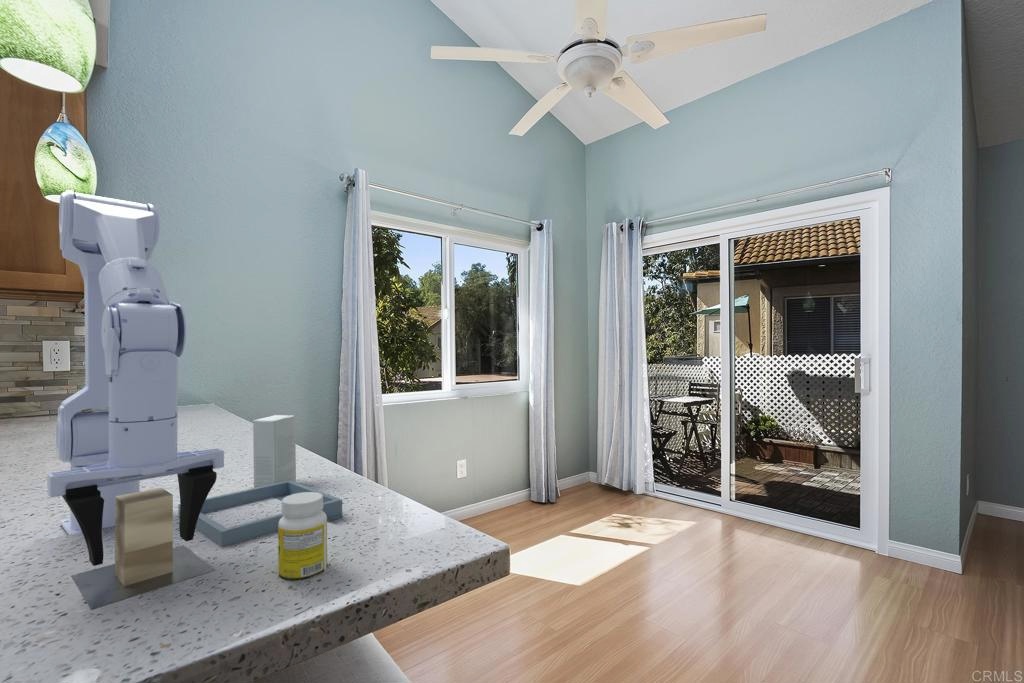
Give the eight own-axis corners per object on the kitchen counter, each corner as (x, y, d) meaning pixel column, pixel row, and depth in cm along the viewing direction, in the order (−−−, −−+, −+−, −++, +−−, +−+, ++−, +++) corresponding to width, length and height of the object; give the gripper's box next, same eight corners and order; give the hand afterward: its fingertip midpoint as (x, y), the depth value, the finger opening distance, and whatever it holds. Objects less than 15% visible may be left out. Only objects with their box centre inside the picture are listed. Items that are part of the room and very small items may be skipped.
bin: (178, 522, 68) (178, 504, 68) (290, 495, 79) (290, 480, 79) (221, 553, 57) (221, 531, 57) (342, 517, 69) (342, 499, 69)
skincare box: (274, 481, 88) (274, 414, 88) (296, 482, 87) (296, 415, 87) (252, 491, 82) (252, 419, 82) (275, 492, 81) (275, 420, 81)
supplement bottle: (292, 566, 54) (291, 490, 54) (334, 567, 54) (334, 490, 54) (269, 588, 49) (269, 504, 49) (315, 589, 49) (315, 504, 49)
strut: (114, 573, 51) (115, 496, 51) (161, 560, 54) (161, 487, 54) (124, 586, 48) (124, 504, 48) (172, 571, 51) (172, 494, 51)
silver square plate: (71, 583, 50) (71, 547, 50) (183, 551, 58) (183, 520, 58) (91, 618, 44) (91, 576, 44) (215, 577, 51) (215, 542, 51)
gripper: (55, 432, 43) (55, 588, 43) (234, 414, 54) (234, 538, 54) (44, 424, 47) (43, 565, 47) (211, 409, 58) (211, 523, 58)
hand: (144, 549), depth 51 cm, fingers open, 7 cm apart
